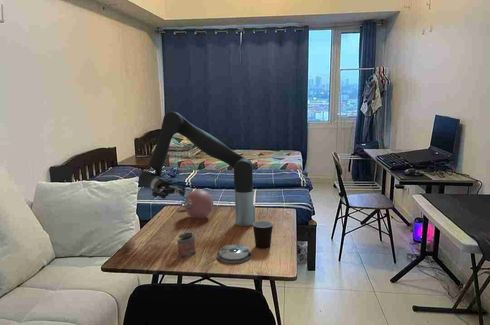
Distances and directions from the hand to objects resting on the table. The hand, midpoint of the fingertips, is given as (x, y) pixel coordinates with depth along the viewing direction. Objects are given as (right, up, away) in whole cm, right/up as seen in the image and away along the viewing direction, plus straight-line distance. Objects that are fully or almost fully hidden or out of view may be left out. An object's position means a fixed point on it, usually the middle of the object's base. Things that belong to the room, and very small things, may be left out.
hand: (174, 195), depth 161 cm
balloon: (+4, -16, +39) cm, 43 cm away
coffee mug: (+39, -22, +3) cm, 45 cm away
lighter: (+6, -24, -7) cm, 26 cm away
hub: (+26, -24, -8) cm, 36 cm away
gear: (-1, -13, +58) cm, 59 cm away
